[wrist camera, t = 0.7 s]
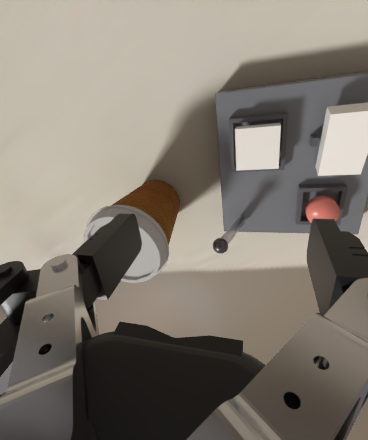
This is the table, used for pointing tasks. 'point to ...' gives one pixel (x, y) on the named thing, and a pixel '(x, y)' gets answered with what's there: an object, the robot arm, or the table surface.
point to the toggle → (228, 236)
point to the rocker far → (343, 140)
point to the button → (322, 208)
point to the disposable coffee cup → (144, 226)
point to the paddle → (257, 146)
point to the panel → (288, 155)
